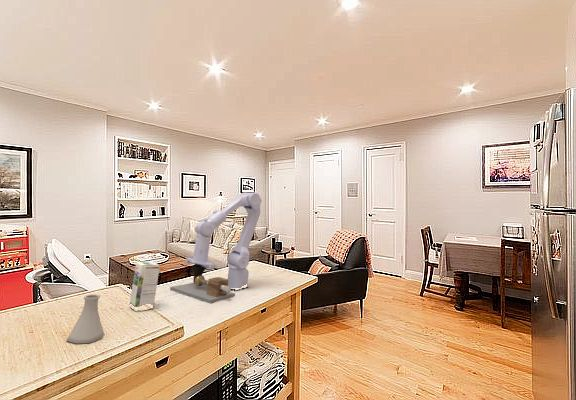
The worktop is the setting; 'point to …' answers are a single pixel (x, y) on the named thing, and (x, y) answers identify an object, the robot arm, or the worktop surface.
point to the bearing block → (216, 286)
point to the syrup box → (144, 283)
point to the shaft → (201, 281)
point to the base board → (199, 292)
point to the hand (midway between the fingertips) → (197, 283)
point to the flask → (88, 322)
